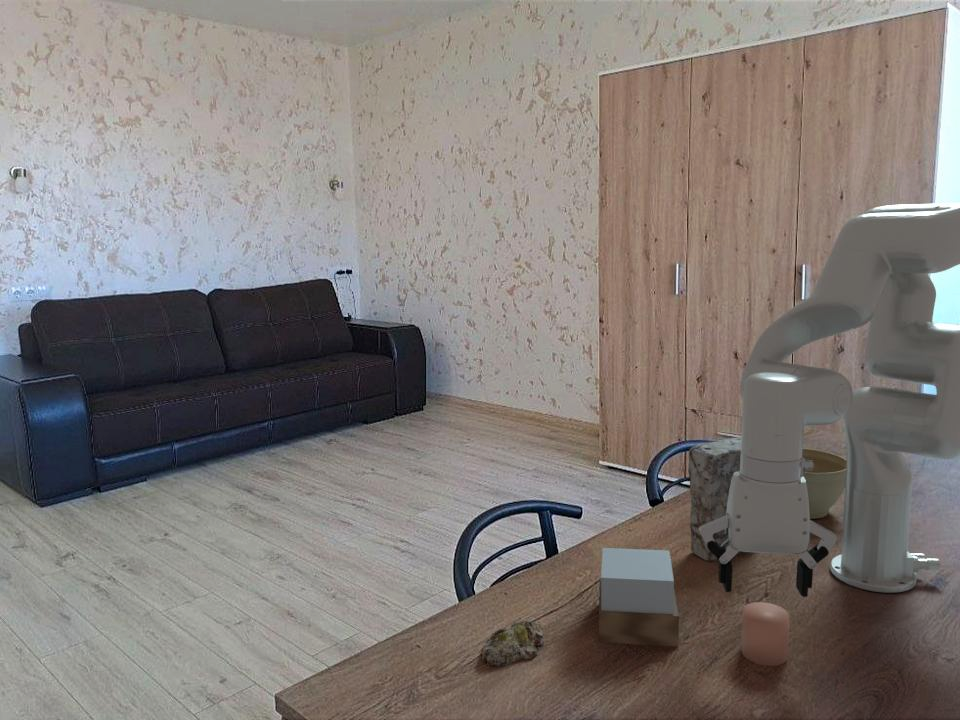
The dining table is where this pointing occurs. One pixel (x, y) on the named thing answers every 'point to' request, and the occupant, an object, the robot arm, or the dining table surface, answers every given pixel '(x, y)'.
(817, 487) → the planter bowl
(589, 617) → the dining table surface
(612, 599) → the slate cap block
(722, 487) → the stone block
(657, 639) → the walnut base block
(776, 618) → the dusty-pink cylinder
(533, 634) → the mineral rock
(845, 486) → the robot arm
